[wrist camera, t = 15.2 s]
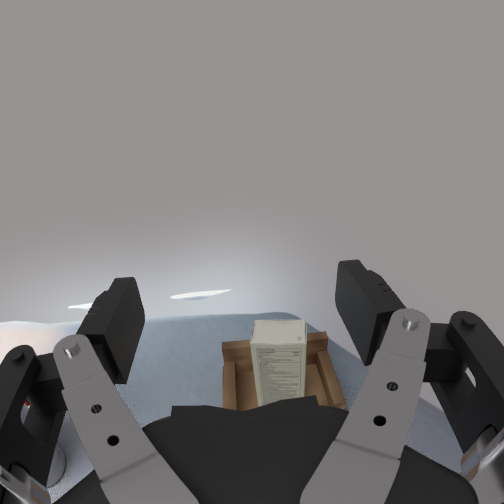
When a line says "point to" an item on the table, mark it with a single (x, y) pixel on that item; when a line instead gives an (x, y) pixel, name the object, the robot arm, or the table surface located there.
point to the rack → (243, 382)
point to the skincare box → (279, 359)
